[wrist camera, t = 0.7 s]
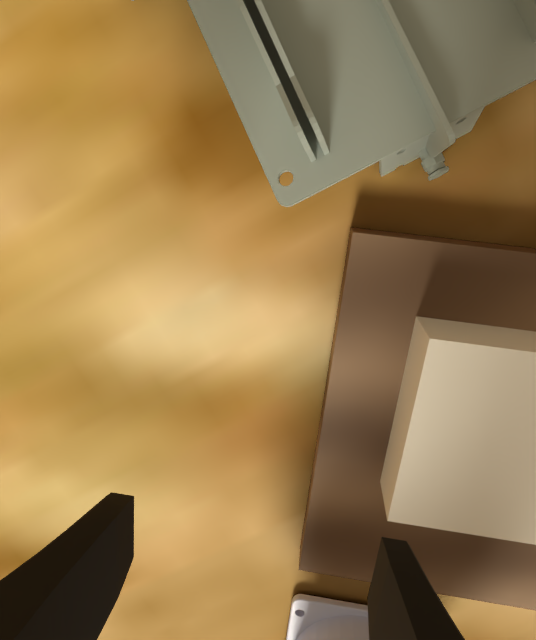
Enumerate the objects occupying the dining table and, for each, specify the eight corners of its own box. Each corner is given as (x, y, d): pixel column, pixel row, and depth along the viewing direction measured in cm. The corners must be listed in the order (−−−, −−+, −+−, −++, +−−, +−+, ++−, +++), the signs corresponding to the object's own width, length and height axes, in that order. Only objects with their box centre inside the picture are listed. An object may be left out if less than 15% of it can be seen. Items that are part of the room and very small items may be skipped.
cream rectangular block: (515, 502, 21) (540, 545, 18) (380, 481, 21) (387, 520, 19) (571, 336, 18) (609, 362, 16) (415, 316, 18) (429, 338, 16)
